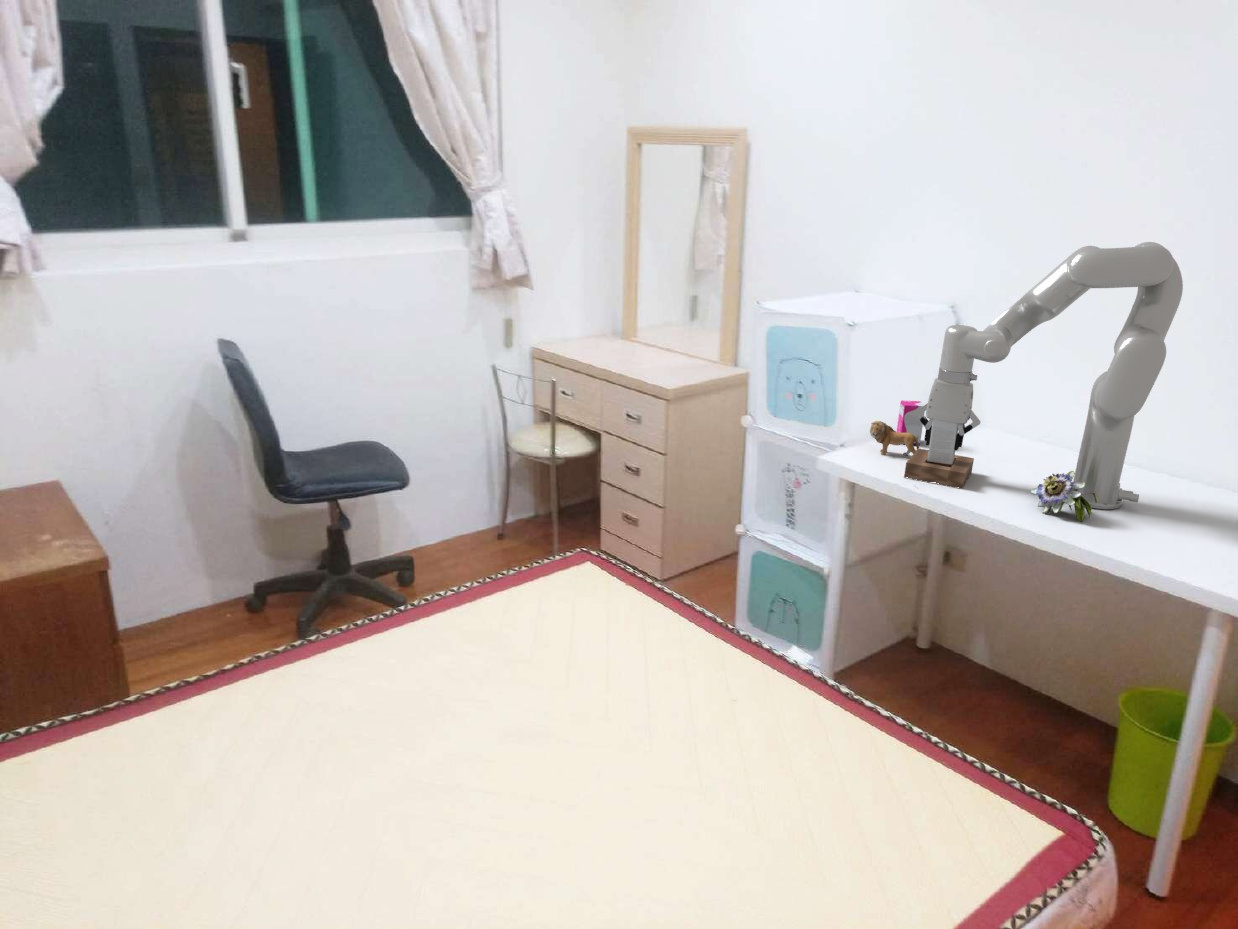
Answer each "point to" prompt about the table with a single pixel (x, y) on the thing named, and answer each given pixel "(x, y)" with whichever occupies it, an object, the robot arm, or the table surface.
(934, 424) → the skincare box
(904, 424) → the supplement box
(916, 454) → the holder block
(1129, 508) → the table surface
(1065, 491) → the passion flower
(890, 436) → the lion figurine
